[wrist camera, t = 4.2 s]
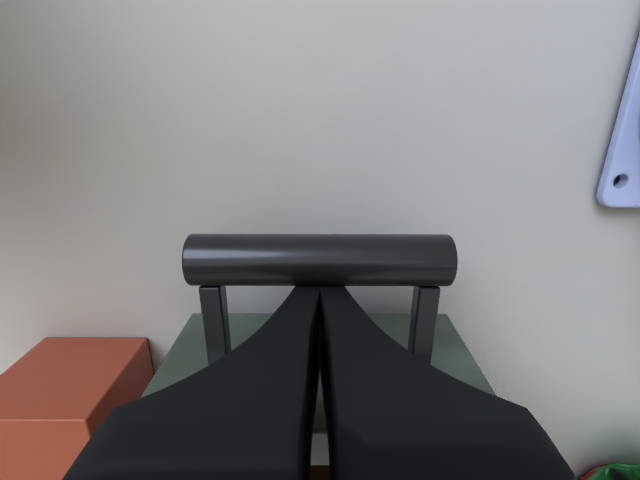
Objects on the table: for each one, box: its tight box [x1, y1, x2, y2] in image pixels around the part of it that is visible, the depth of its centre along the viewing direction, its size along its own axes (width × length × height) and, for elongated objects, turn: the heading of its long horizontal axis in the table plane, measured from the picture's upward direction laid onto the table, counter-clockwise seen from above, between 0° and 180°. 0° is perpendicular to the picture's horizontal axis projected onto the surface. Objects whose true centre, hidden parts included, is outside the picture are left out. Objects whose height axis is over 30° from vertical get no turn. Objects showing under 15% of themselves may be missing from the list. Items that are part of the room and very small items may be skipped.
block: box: [0, 338, 154, 480], centre depth 15 cm, size 5×5×5 cm
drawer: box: [141, 234, 496, 480], centre depth 13 cm, size 17×10×6 cm, turn 0°
